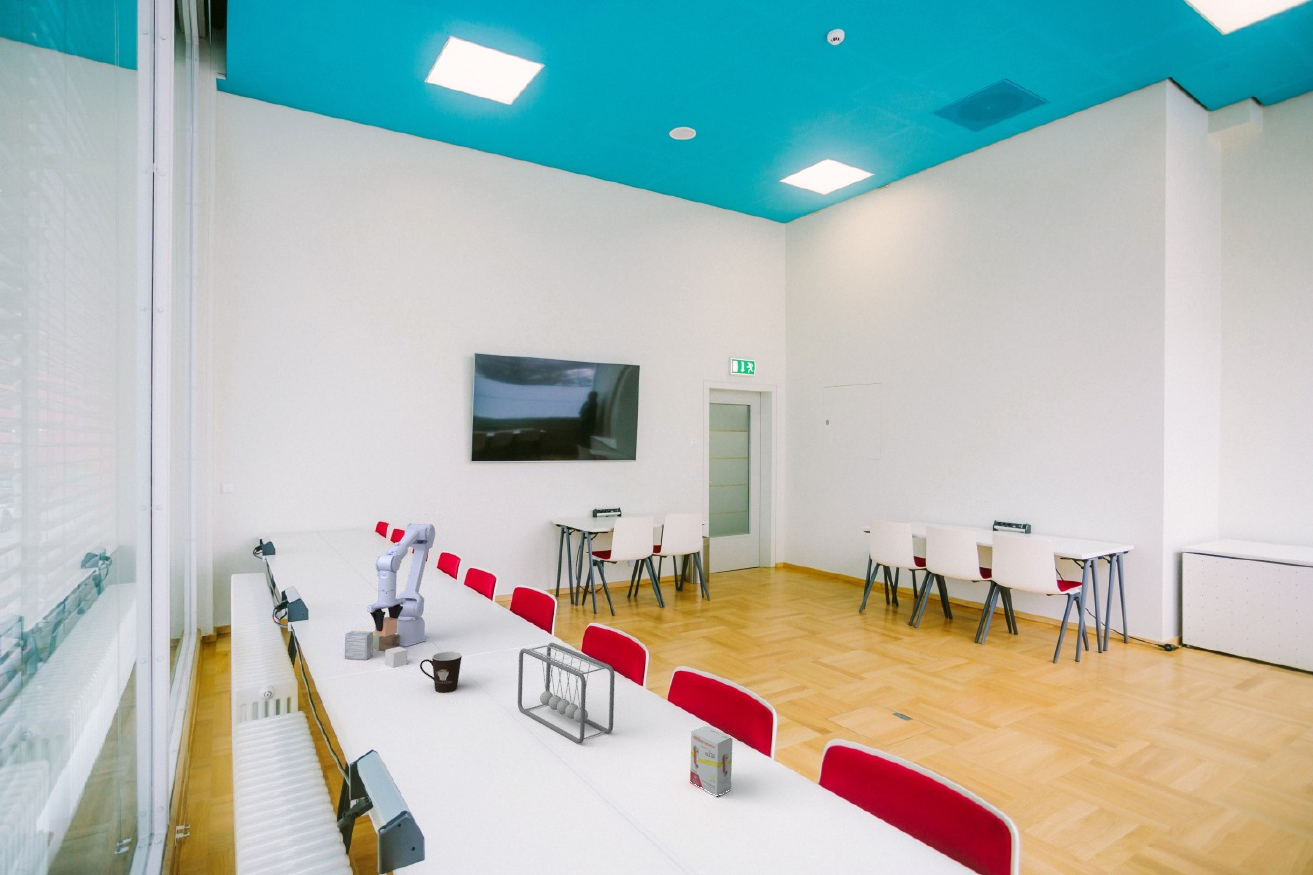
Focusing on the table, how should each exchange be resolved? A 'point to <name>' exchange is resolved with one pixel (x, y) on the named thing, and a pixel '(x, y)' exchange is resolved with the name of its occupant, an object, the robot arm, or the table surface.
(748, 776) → the table surface
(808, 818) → the table surface
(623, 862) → the table surface
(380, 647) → the walnut block
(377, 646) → the sage block
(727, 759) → the ink box
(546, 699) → the newton's cradle
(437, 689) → the coffee mug
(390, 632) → the terracotta block
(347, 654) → the medicine box
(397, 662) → the pale grey block
